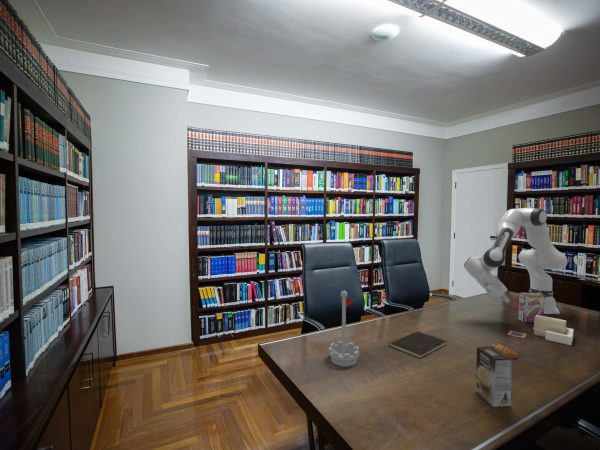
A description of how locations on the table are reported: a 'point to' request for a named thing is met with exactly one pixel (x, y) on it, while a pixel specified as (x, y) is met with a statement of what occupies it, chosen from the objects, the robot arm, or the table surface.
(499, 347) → the pastry
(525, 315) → the candy bar box
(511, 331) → the plate
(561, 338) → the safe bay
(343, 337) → the flag stand
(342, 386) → the table surface
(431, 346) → the hardcover book
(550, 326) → the maple block
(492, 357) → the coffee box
